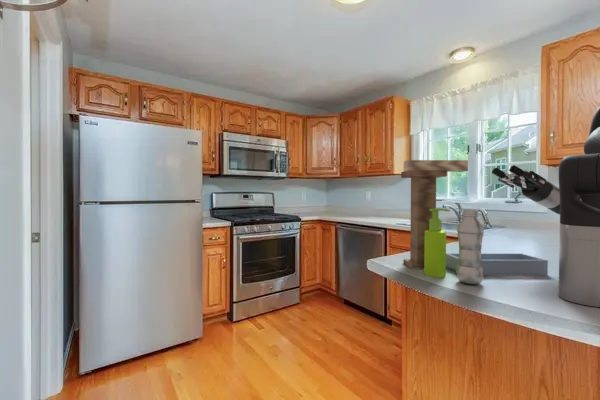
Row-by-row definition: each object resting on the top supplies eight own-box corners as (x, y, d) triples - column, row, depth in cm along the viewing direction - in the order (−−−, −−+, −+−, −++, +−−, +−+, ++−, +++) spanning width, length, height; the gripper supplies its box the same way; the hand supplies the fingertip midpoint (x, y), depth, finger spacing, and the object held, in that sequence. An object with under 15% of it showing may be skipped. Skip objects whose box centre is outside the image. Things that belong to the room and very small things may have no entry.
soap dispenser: (452, 277, 86) (453, 208, 85) (429, 277, 86) (429, 208, 86) (443, 272, 92) (444, 208, 91) (421, 272, 92) (421, 207, 91)
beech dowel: (462, 171, 101) (462, 161, 101) (467, 170, 97) (468, 160, 97) (403, 171, 101) (403, 161, 101) (407, 170, 97) (407, 160, 97)
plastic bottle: (456, 284, 79) (457, 210, 79) (456, 278, 85) (456, 209, 85) (484, 288, 76) (485, 210, 76) (482, 281, 82) (483, 209, 82)
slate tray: (521, 266, 99) (521, 253, 99) (547, 275, 88) (547, 260, 88) (444, 266, 99) (444, 253, 99) (462, 275, 88) (462, 260, 88)
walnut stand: (434, 263, 104) (435, 172, 103) (446, 269, 96) (447, 170, 95) (400, 263, 104) (401, 172, 103) (409, 269, 96) (409, 170, 95)
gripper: (531, 183, 106) (493, 161, 106) (568, 182, 92) (523, 156, 92) (521, 201, 107) (482, 179, 106) (555, 203, 92) (511, 177, 92)
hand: (501, 168), depth 99 cm, fingers open, 8 cm apart
